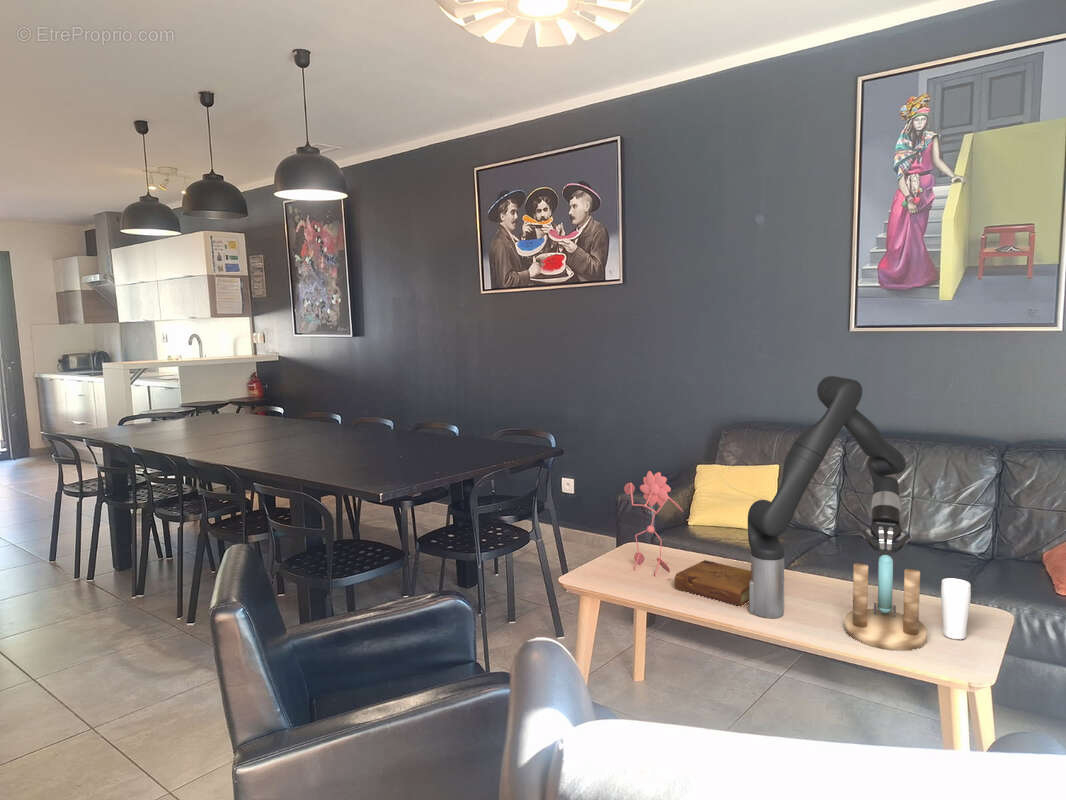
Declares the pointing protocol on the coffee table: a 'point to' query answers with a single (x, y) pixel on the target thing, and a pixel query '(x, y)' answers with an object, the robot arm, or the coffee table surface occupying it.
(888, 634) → the stool
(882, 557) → the teal capsule cylinder
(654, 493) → the figurine
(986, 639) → the coffee table surface
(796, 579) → the coffee table surface
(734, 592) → the diary
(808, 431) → the robot arm
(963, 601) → the drinking glass
